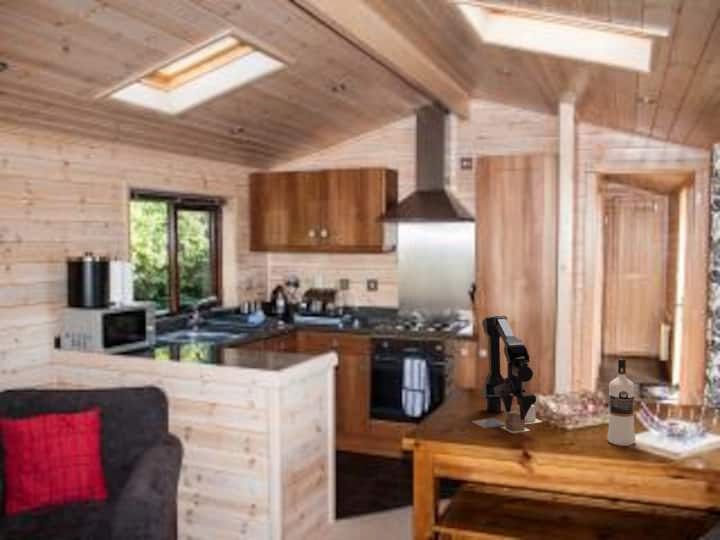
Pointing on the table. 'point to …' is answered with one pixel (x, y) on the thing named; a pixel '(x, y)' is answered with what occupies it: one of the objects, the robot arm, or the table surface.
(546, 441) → the table surface
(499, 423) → the slate coaster
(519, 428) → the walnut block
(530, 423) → the code tile
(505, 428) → the cream glyph tile
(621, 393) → the vodka
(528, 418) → the beige block
